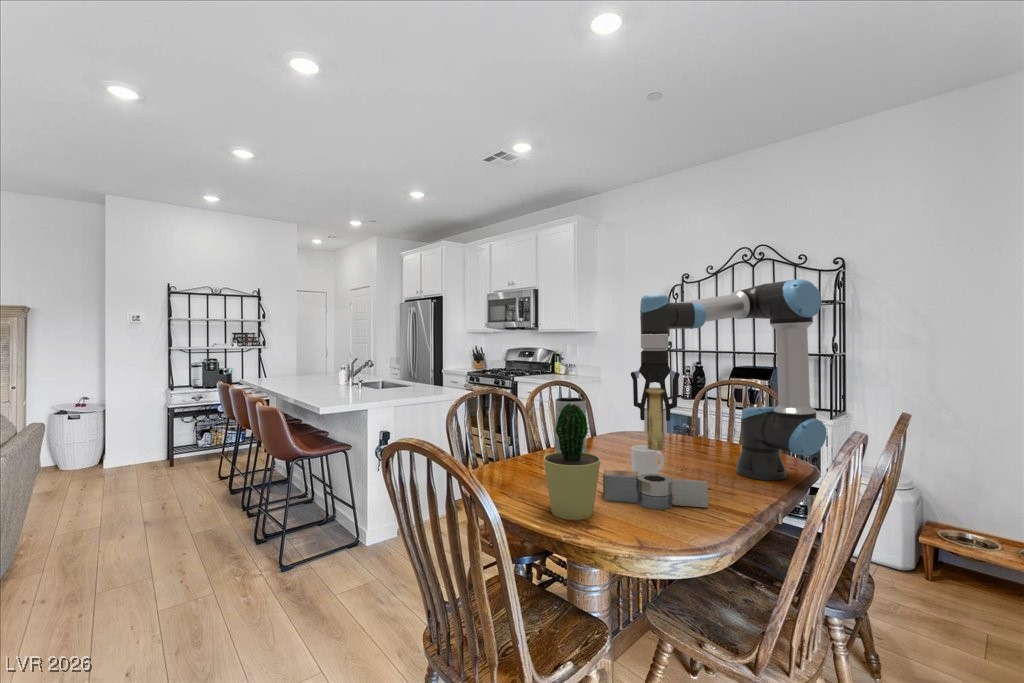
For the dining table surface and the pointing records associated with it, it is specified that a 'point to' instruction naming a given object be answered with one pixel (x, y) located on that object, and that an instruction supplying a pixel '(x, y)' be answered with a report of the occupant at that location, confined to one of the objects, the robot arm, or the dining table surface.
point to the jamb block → (615, 472)
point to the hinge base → (632, 493)
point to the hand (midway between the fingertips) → (655, 431)
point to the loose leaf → (675, 489)
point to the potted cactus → (572, 468)
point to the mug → (645, 460)
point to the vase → (559, 406)
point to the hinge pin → (655, 418)
